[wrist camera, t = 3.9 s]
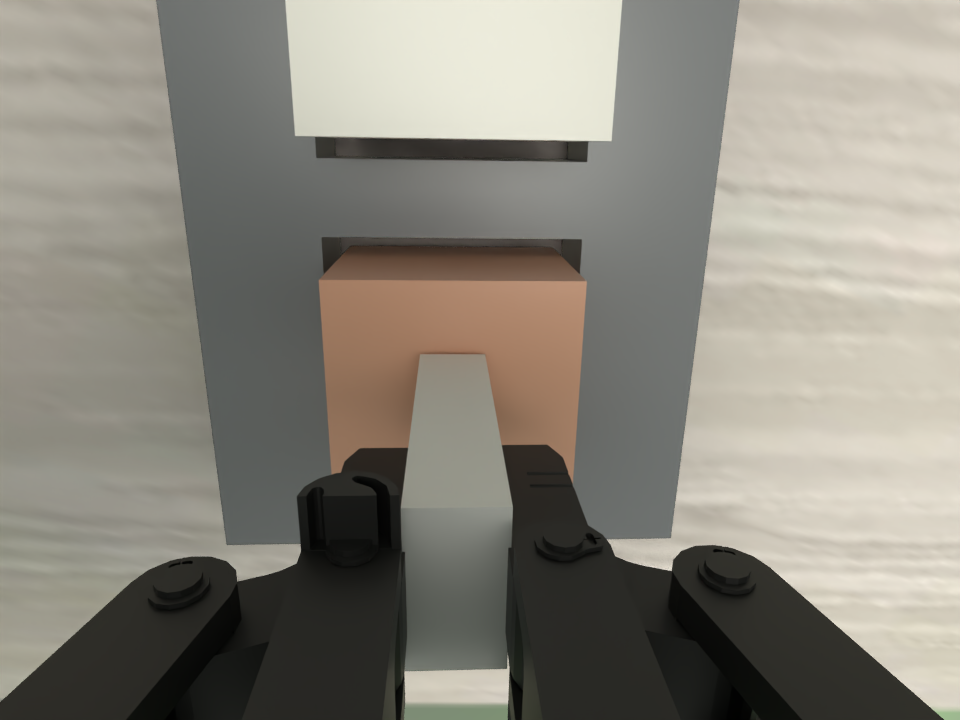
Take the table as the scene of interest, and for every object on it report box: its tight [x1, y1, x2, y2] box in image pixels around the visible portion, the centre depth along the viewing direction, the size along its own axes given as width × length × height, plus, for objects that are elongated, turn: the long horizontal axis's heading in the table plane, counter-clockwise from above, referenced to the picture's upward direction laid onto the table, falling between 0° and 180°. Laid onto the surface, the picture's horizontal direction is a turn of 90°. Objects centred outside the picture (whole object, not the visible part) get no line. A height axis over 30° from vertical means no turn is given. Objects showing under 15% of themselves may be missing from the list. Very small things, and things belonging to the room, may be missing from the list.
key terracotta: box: [319, 246, 587, 483], centre depth 18 cm, size 6×6×5 cm
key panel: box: [156, 0, 739, 545], centre depth 17 cm, size 14×30×3 cm, turn 179°
